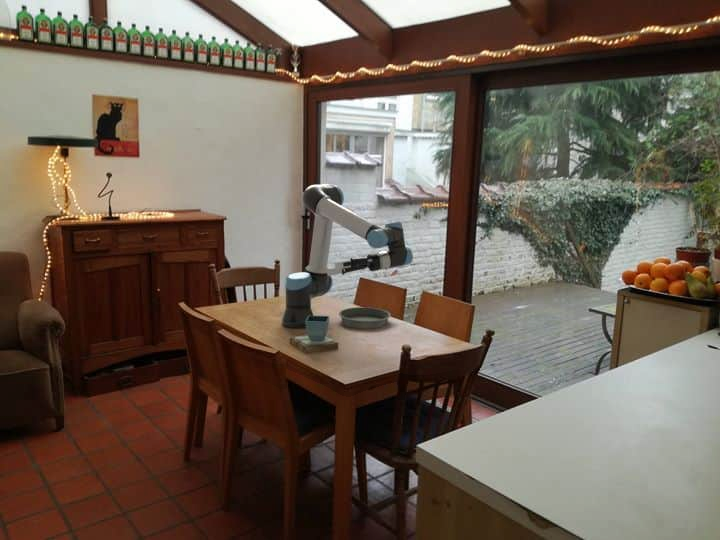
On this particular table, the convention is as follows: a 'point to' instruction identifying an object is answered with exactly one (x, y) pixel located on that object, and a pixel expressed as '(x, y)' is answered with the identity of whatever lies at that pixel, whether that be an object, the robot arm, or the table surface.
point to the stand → (313, 344)
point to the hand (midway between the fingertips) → (331, 269)
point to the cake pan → (364, 317)
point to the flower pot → (317, 327)
